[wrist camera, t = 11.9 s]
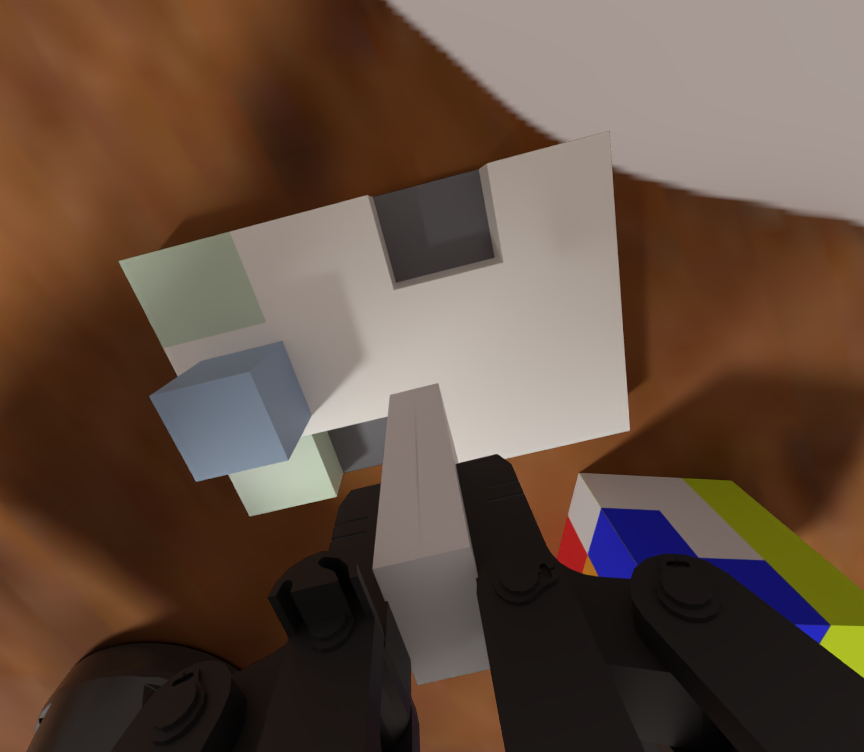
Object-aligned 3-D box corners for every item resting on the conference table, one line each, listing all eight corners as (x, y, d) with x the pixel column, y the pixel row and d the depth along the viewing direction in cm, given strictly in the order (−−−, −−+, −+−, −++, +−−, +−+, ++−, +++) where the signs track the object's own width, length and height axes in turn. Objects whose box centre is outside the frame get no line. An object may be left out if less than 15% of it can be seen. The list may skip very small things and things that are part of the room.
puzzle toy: (578, 472, 25) (673, 620, 16) (730, 479, 26) (906, 627, 17) (548, 590, 29) (610, 768, 20) (682, 594, 30) (804, 768, 20)
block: (235, 433, 20) (196, 481, 17) (200, 361, 19) (149, 396, 15) (311, 415, 20) (288, 460, 17) (282, 340, 19) (249, 371, 15)
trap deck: (265, 488, 25) (249, 516, 22) (153, 255, 20) (118, 261, 17) (608, 409, 24) (629, 430, 21) (585, 141, 19) (609, 130, 16)
